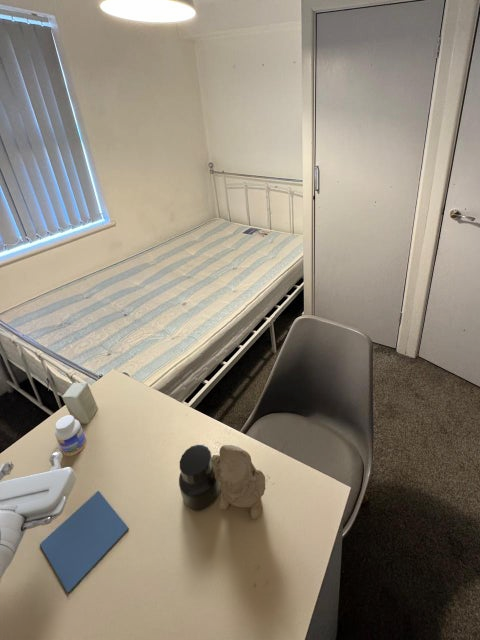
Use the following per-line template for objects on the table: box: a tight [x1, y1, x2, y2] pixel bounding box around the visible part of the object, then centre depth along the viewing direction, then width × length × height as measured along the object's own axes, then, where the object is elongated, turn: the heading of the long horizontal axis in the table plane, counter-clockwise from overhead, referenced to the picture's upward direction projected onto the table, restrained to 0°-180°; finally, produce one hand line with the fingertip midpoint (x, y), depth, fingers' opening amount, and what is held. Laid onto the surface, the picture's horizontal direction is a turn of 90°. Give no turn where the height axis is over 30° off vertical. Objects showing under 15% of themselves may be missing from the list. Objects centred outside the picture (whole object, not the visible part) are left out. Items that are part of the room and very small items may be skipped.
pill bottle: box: [54, 414, 87, 457], centre depth 84 cm, size 5×5×10 cm
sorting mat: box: [39, 490, 130, 594], centre depth 69 cm, size 13×12×1 cm
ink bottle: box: [178, 443, 221, 512], centre depth 74 cm, size 10×9×12 cm
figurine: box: [211, 444, 266, 520], centre depth 69 cm, size 13×7×20 cm, turn 72°
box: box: [61, 382, 99, 424], centre depth 92 cm, size 5×4×11 cm
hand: (33, 458), depth 70 cm, fingers open, 8 cm apart
